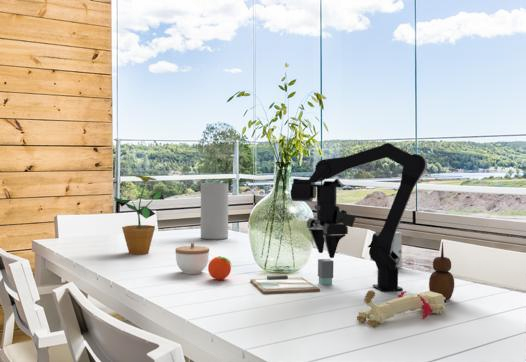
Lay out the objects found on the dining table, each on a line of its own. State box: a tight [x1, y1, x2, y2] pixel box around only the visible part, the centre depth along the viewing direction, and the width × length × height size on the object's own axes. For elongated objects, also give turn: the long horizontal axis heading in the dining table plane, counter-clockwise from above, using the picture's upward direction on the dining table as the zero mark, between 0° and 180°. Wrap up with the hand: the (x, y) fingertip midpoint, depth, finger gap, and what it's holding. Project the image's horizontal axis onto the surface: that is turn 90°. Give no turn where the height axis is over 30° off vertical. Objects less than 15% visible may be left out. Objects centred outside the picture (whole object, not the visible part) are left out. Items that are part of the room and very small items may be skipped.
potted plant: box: [113, 174, 165, 256], centre depth 224 cm, size 18×19×30 cm
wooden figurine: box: [428, 241, 455, 301], centre depth 153 cm, size 7×6×15 cm
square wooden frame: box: [250, 274, 321, 295], centre depth 168 cm, size 16×16×2 cm
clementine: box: [207, 255, 233, 281], centre depth 176 cm, size 8×7×7 cm
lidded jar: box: [175, 242, 210, 275], centre depth 187 cm, size 11×11×9 cm
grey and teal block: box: [317, 258, 334, 286], centre depth 172 cm, size 4×4×7 cm
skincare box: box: [393, 231, 403, 269], centre depth 198 cm, size 6×4×12 cm
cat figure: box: [356, 289, 448, 328], centre depth 136 cm, size 10×9×25 cm
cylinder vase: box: [200, 182, 229, 241], centre depth 267 cm, size 12×12×25 cm
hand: (326, 255), depth 171 cm, fingers open, 9 cm apart
